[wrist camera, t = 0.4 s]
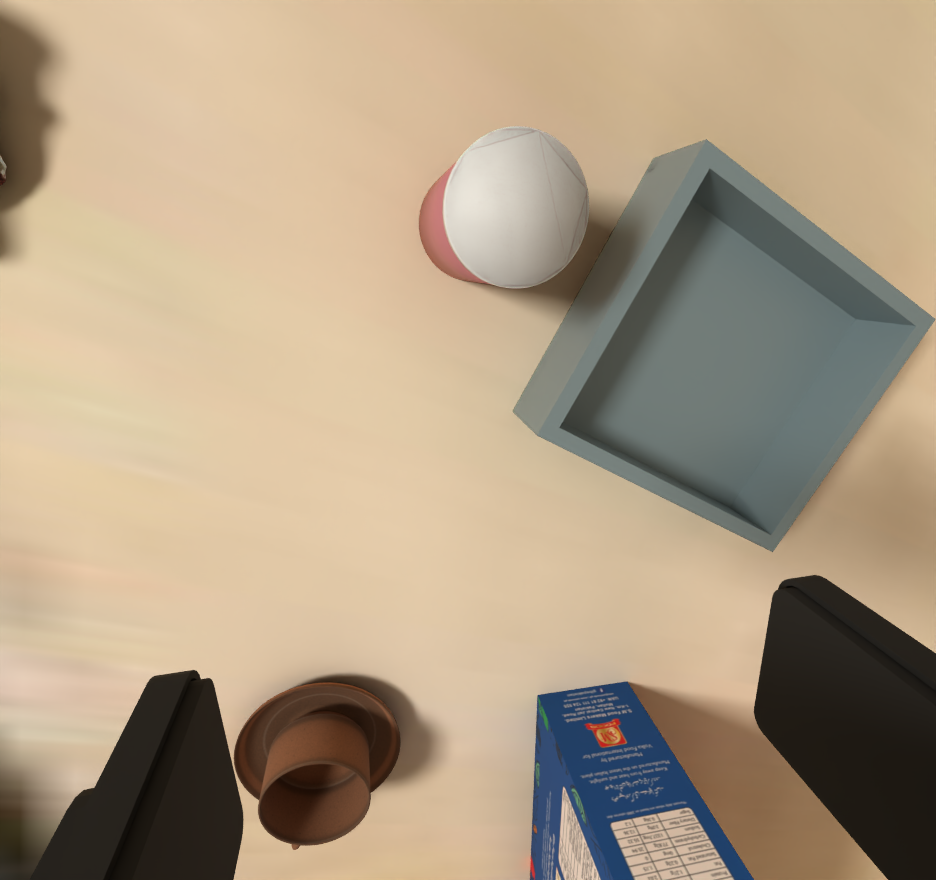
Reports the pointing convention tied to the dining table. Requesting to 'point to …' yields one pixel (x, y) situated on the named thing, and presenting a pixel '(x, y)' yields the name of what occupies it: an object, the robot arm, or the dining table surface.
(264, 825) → the cup and saucer
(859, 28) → the dining table surface
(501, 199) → the soup can
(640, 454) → the tote
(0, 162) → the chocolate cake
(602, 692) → the pasta box
